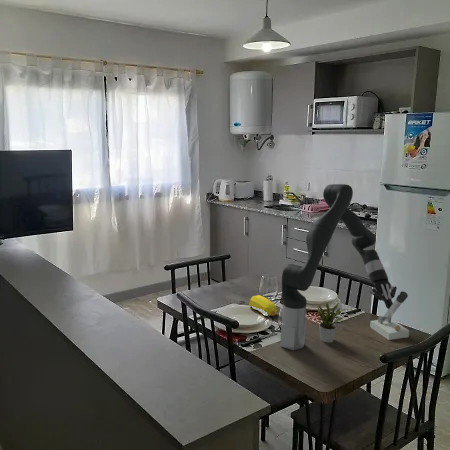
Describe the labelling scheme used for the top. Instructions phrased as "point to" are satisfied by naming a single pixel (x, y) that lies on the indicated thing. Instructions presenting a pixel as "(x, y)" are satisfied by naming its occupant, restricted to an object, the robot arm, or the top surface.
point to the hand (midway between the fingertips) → (390, 308)
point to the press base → (389, 329)
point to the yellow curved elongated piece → (263, 304)
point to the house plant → (328, 323)
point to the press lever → (395, 306)
